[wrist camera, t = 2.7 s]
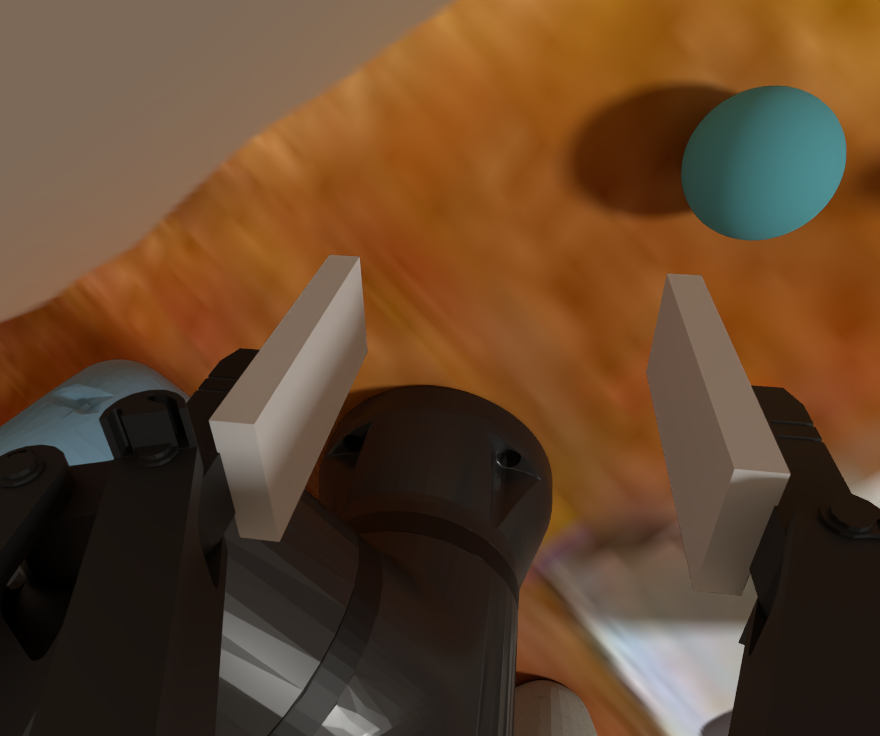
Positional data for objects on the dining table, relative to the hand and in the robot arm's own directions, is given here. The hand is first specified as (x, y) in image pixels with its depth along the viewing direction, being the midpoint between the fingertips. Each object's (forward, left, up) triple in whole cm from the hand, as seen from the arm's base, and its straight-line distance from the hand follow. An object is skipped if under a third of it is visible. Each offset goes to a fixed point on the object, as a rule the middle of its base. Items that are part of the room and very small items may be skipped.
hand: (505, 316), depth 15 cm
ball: (+10, 0, -14) cm, 17 cm away
